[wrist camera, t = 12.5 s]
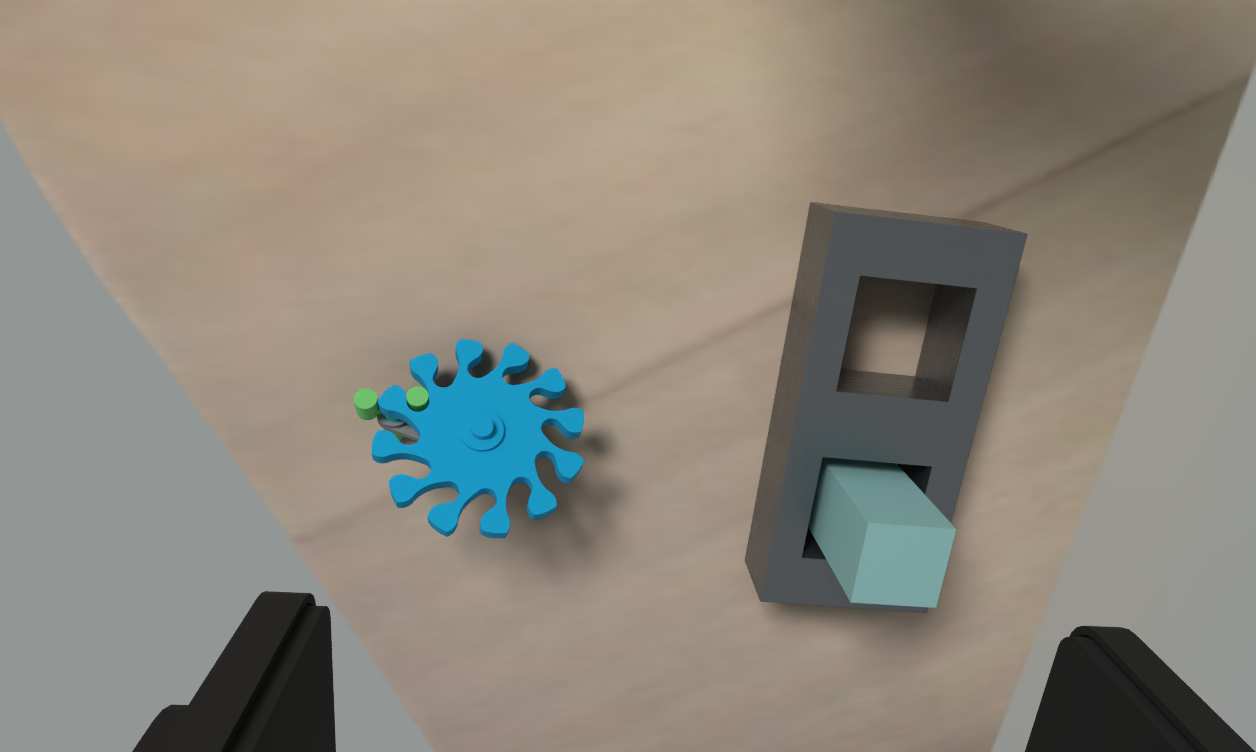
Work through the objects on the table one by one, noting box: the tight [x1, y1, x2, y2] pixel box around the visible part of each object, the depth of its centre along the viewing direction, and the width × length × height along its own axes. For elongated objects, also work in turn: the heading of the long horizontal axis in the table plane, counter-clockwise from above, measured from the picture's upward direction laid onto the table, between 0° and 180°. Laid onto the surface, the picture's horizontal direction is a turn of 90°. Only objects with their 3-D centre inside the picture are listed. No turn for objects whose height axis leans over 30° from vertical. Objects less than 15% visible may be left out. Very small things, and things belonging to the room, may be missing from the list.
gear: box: [354, 340, 584, 538], centre depth 40 cm, size 11×6×10 cm
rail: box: [745, 202, 1027, 613], centre depth 41 cm, size 20×9×4 cm, turn 173°
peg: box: [808, 457, 956, 608], centre depth 40 cm, size 4×4×9 cm
